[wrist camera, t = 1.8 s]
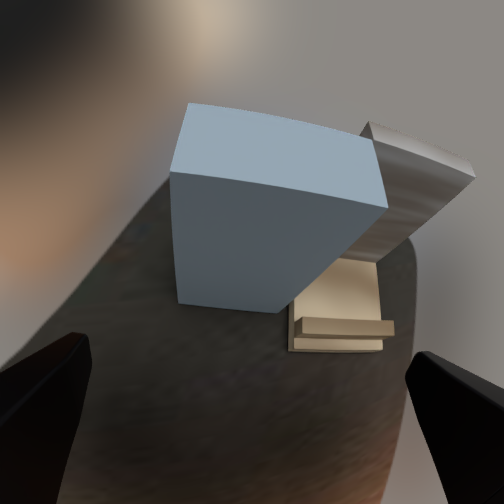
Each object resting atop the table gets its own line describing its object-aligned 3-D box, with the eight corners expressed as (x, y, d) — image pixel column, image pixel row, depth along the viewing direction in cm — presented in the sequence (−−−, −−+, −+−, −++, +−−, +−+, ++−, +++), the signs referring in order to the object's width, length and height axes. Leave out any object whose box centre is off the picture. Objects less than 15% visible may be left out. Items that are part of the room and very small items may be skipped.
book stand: (373, 352, 21) (511, 301, 10) (288, 351, 20) (405, 295, 9) (364, 240, 24) (460, 142, 14) (288, 228, 23) (362, 103, 13)
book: (277, 313, 21) (388, 208, 9) (178, 303, 20) (169, 171, 8) (278, 271, 22) (371, 139, 10) (184, 260, 21) (188, 103, 9)
